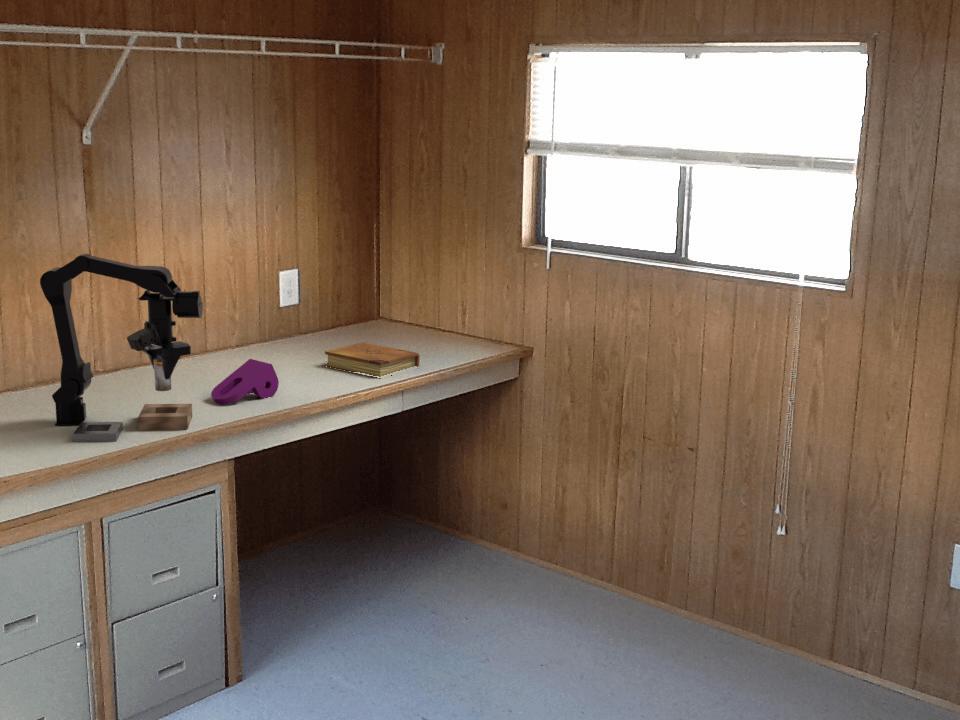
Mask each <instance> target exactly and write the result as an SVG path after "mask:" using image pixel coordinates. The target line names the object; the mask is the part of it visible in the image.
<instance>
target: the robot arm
mask: <svg viewBox="0 0 960 720" xmlns="http://www.w3.org/2000/svg"><path fill="white" fill-rule="evenodd" d="M84 272H85V273H86V272H87V273H90V274H95V275H99V276H105V277H109V278H113V279H117V280H123V281H127V282H129V283H132V284H134V285H136V286H138V287H140V288H142V289H143V290H144V292H143V294H142V295H141V296H139V298H138V301H147V313H148V314H147V315H148V316H147V317H148V320H145V321H144V327H143V328H141V329H139V330H137V331H135V332H133V333H131V334H130V335H128V336H127V337H126V340H127V342H128V344H129V347H130V349H131V350H135V351H136V352H143V353H144V354H146V355H147V356H148V358H149V361H150V362H151V365H152V369H153V370H154V358H157V357H159V358H160V359H161V360H162V364H163V370H164V376H165V379H166V380H167V379H170V377H171V378H172V375H173V372H174V370H175V368H176V367H177V364H178V363H179V360H180V359H181V357H183V356H188V355H191V354H192V346H191V345H190V344H189V343H187V342H183V341H177V337H176V336H173V326H177V325H176V324H177V323H176V321H174V320H173V314H174V315H175V316H176V318H179V319H180V318H181V319H185V318H186V319H201V318H202V315H203V310H204V305H203V300H202V296H201V292H200V290H192V291H188V290H187V291H185V290H183V291H182V290H181V288H180V287H179V286H178V284H177V283H176V282H175V281H174V279H173V275H172V273H171V271H170V269H169V268H167V267H165V266H160V265H158V266H157V265H134V264H130V263H125V262H120V261H116V260H112V259H107V258H103V257H99V256H96V255H91V254H89V253H82V254H80V255H77V256H76V257H75V258H74V259H73V260H71V261H70V262H68V263H66V264H65V265H63V266H61V267H60V266H59V267H53V268H52V269H50V270H48V271H46V272H44V273H43V274H42V275H41V277H40V278H39V284H40V288H41V290H42V293H43V296H44V298H45V299H46V301H47V302H48V303H49V304H48V305H50V307H51V312H52V316H53V322H54V326H55V330H56V337H57V341H58V346H59V351H60V355H61V361H62V362H61V370H60V387H58V389H57V390H56V391H55V392H53V394H52V395H51V397H52V401H53V402H54V405H55V418H56V419H55V420H56V421H55V422H54V425H55V426H79V425H80V423H81V422H84V421H86V419H87V407H86V406H87V404H86V403H85V402H84V397H83V395H84V393H85V392H86V390H87V389H88V388H89V387H90V386H91V384H92V379H93V378H94V375H93V373H92V370H91V369H92V367H91V362H90V361H89V362H85V360H83V358H82V357H81V356H82V355H81V351H80V347H79V341H78V337H77V331H76V327H75V320H74V316H73V312H72V306H71V298H72V292H73V291H72V290H73V284H72V283H73V281H72V280H73V279H75V278H77V277H78V276H79V275H81V274H83V273H84Z"/></svg>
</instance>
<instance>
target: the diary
mask: <svg viewBox="0 0 960 720" xmlns="http://www.w3.org/2000/svg"><path fill="white" fill-rule="evenodd" d="M324 355H327V364H326V365H325V366H327V367H331V368H336V369H341V370H345V371H351V372H360V373H365V374H369V375H373V376H379V377H381V376H384V375H387V374H390V373H393V372H396V371H400V370H403V369H407V368H410V367H414V366H417V367H418V366H419V367H420V354H419V353H418V352H416V351H415V352H414V351H409V350H404V349H399V348H395V347H389V346H384V345H380V344H379V345H378V344H373V343H369V342H358V343H354V344H350V345H349V344H348V345H346V346H342V347H338V348H334V349H329V350H324ZM331 368H330V369H331ZM336 369H335V370H336ZM345 371H344V372H345Z"/></svg>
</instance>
